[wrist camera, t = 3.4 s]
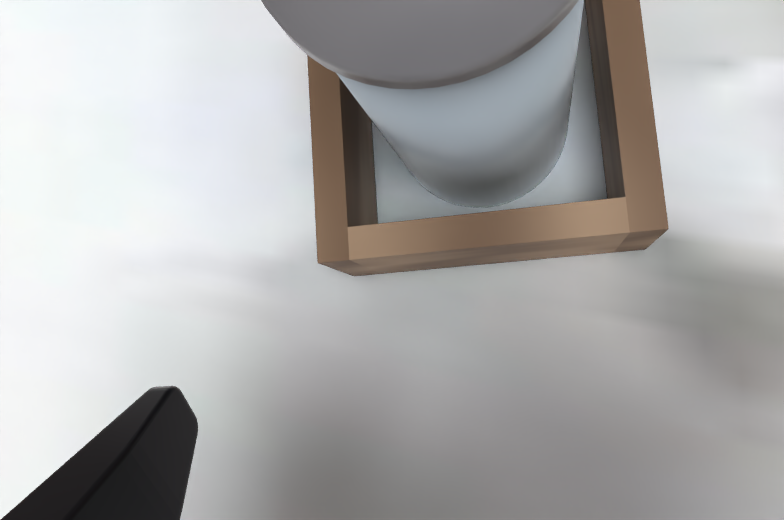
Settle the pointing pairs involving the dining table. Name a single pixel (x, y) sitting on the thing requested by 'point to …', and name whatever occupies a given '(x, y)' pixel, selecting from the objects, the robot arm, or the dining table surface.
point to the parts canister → (453, 83)
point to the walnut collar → (506, 227)
